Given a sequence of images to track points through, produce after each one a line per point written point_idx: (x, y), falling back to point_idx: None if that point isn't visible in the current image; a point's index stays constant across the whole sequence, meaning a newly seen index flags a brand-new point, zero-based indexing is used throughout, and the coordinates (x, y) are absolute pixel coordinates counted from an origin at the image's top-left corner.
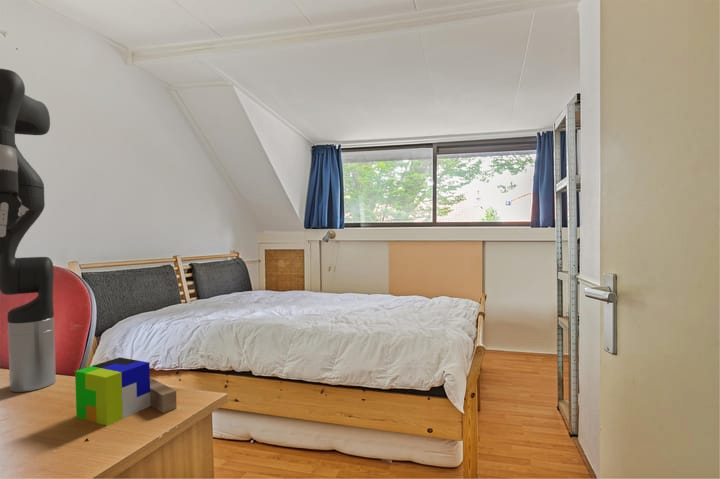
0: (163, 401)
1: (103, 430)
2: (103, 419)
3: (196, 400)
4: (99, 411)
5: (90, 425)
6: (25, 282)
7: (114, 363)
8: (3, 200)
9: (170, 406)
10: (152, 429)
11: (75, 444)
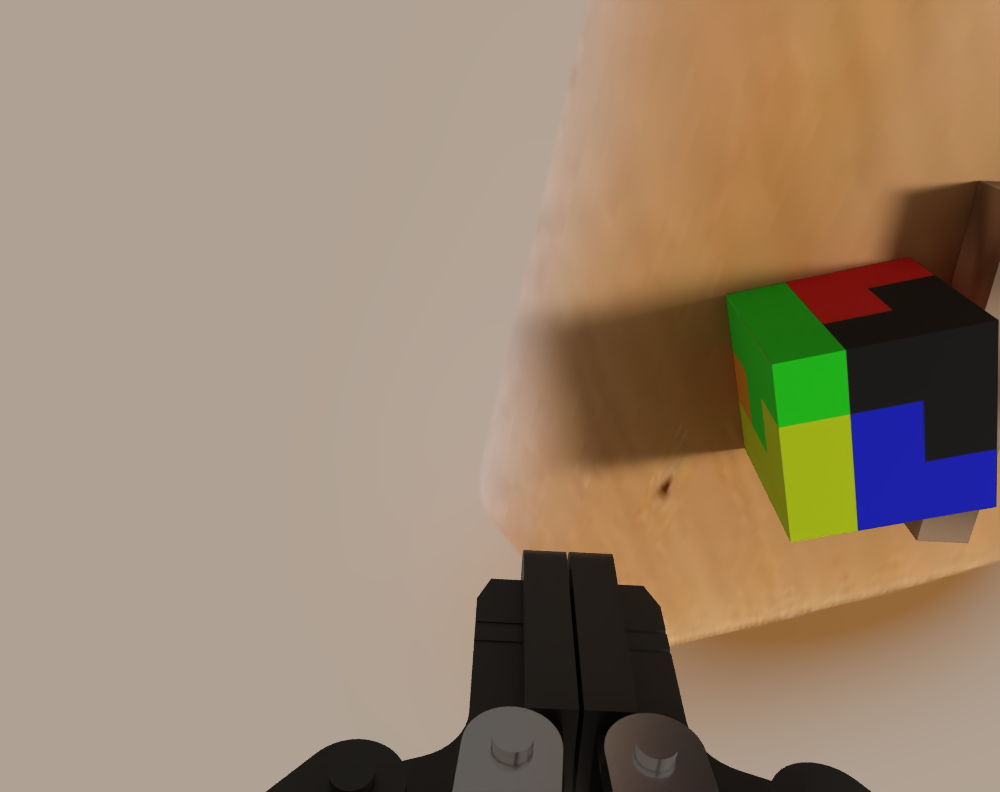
0: (909, 526)
1: (721, 469)
2: (746, 441)
3: None
4: (750, 433)
5: (717, 403)
6: None
7: (920, 397)
8: None
9: None
10: (800, 572)
11: (633, 489)
